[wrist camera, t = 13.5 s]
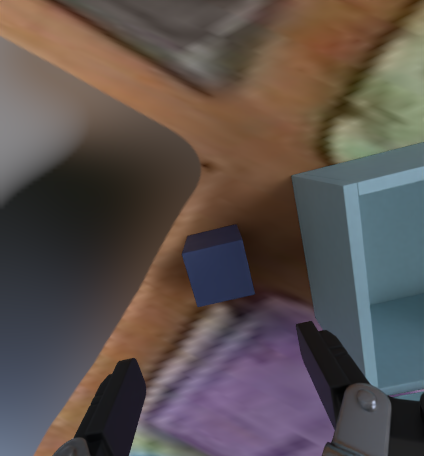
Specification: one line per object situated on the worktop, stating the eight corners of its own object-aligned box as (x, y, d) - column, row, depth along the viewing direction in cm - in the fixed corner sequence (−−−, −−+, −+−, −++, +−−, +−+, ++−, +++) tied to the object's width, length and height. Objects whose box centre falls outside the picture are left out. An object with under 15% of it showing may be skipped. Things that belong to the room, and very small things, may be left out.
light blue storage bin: (291, 175, 24) (342, 185, 14) (429, 140, 23) (582, 126, 14) (315, 317, 28) (368, 400, 18) (434, 292, 27) (555, 364, 17)
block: (187, 235, 25) (181, 253, 21) (236, 224, 25) (242, 239, 20) (200, 280, 27) (197, 307, 22) (247, 269, 26) (255, 294, 21)
